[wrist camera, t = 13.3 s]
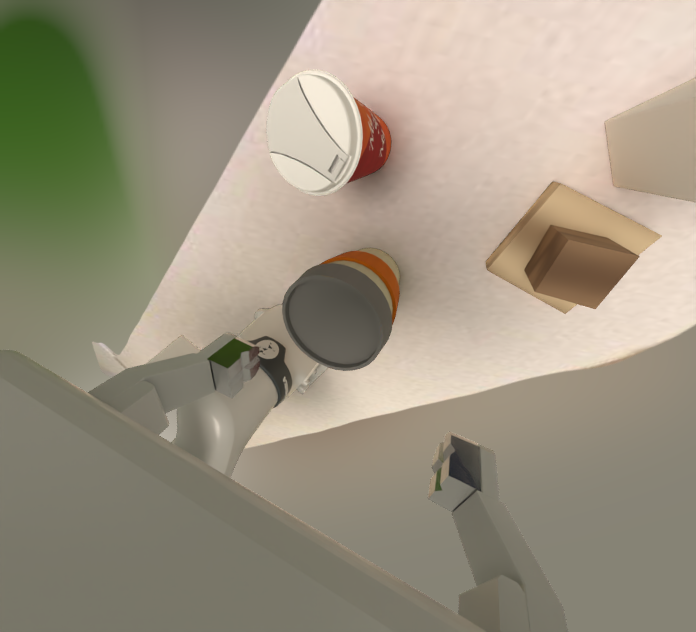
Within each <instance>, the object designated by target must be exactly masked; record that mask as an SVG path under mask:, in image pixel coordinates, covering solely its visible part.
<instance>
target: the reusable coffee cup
mask: <svg viewBox="0 0 696 632" xmlns="http://www.w3.org/2000/svg"><path fill="white" fill-rule="evenodd" d="M399 282H400V273H399V270H398V267H397V265H396V263H395V262H394V260H393V259H392V258H391V257H390V256H389V255H388V254H387V253H385V252H383V251H381V250H378V249H375V248H364V249H361V250H358V251H350V252H346V253H343V254H341V255H338V256H336V257H333V258H331V259H328V260H326V261H325V262H323V263H321V264H320V265H317V266H314V267H312V268H311V269H309V270H307V271H306V272H305V273H304V274H303V275H302V276H301V277H300V278H299V279H298V280H297V281H296V282H295V283H294V284H293V285H292V286H291V287H290V288H289V289H288V291H287V292H286V294H285V296H284V300H283V304H282V315H283V321H284V324H285V327H286V330H287V331H288V333H289V335H290V337H291V339H292V340H293V341H294V343H295V344H296V345H297V347H298V348H299V349H300V350H301V351H302V352H303V353H304V354H306V355H307V356H308V357H309V358H311V359H312V360H314V361H316V362H317V363H319V364H321V365H323V366H326V367H329V368H332V369H336V370H343V371H347V370H356V369H360V368H363V367H365V366H367V365H369V364H370V363H371V362H372V361H373V360H374V359H375V358H376V357H377V355H378V354H379V352H380V351H381V349H382V348H383V346H384V345H385V344H386V342H387V341H388V339H389V336H390V333H391V330H392V325H393V322H394V319H395V316H396V311H397V306H398V301H399V294H400V293H399Z"/></svg>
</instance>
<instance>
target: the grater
mask: <svg viewBox="0 0 696 632" xmlns="http://www.w3.org/2000/svg"><path fill="white" fill-rule="evenodd" d="M200 351H201V350H200V349H198V348H197V347H196V346H195V345H194V344H193V343H191V342H190V341H189V340H188V339H187V338H185V337H184V336H183V335H181V336H180V337H178V338H177V339H176V340H175V341H174V342H172V343H171V344H170V345H169V346H167V347H166V348H165V349H164V350H162V351H161V352H160V353H159V354H157V355H156V356H155V357H154V358H152V359H151V360H150V361H149V362H147V363H146V364H149V363H153V362H157V361H161V360H165V359H170V358H174V357H178V356H182V355H186V354H190V353H195V354H197V353H198V352H200Z"/></svg>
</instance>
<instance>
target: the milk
mask: <svg viewBox="0 0 696 632" xmlns="http://www.w3.org/2000/svg"><path fill="white" fill-rule="evenodd" d="M605 128H606V135H607V142H608V150H609V157H610V164H611V171H612V179H613V185H614V186H616V187H621V188H626V189H631V190H636V191H641V192H646V193H651V194H656V195H661V196H666V197H671V198H676V199H681V200H687V201H692V202H696V78H694V79H692V80H690V81H688V82H686V83H684V84H682V85H679V86H677V87H675V88H673V89H671V90H669V91H667V92H665V93H663V94H661V95H659V96H657V97H654V98H652V99H650V100H648V101H646V102H644V103H642V104H640V105H638V106H636V107H634V108H632V109H629V110H627V111H625V112H623V113H621V114H619V115H617V116H615V117H613V118H611V119H609V120H607V121H605Z"/></svg>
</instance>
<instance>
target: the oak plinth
mask: <svg viewBox="0 0 696 632" xmlns="http://www.w3.org/2000/svg"><path fill="white" fill-rule="evenodd" d="M550 225H554V226H558V227H563V228H567V229H571V230H576V231H580V232H585V233H589V234H594V235H598V236H603V237H607V238H609V239H611V240H612V241H614V242H616V243H618V244H619V245H621V246H623V247H624V248H626V249H628V250H630V251H631V252H633V253H635V254H636V255H639V254H640V253H642V252H643V251H644V250H645V249H647V248H648V247H649V246H650V245H652V244H653V243H654V242H655V241H656V240H658V239H659V238H660V237H661V235H659V234H657V233H656V232H654V231H652V230H650V229H648V228H646V227H644V226H642V225H640V224H638V223H636V222H634V221H632V220H630V219H628V218H626V217H625V216H623V215H621V214H619V213H617V212H615V211H613V210H611V209H609V208H607V207H605V206H603V205H601V204H599V203H597V202H596V201H594V200H592V199H590V198H588V197H586V196H584V195H582V194H580V193H578V192H576V191H574V190H572V189H570V188H568V187H566V186H565V185H563V184H560V183H557V182H552V183H551V184H550V185H549V186H548V188H547V189H546V190H545V191H544V192H543V194H542V195H541V196H540V197H539V198H538V200H537V201H536V202H535V203H534V204H533V206H532V207H531V208H530V209H529V210H528V212H527V213H526V214H525V215H524V216H523V218H522V219H521V220H520V221H519V222H518V224H517V225H516V226H515V227H514V228H513V230H512V231H511V232H510V233H509V234H508V236H507V237H506V238H505V239H504V240H503V242H502V243H501V244H500V245H499V246H498V248H497V249H496V250H495V251H494V252H493V254H492V255H491V256H490V257H489V258H488V260H487V261H486V267H487V270H488V271H490V272H491V273H493V274H495V275H497V276H499V277H500V278H502V279H504V280H506V281H507V282H509V283H511V284H513V285H515V286H516V287H518V288H520V289H522V290H524V291H525V292H527V293H529V294H531V295H532V296H534V297H536V298H538V299H540V300H541V301H543V302H545V303H547V304H548V305H550V306H552V307H554V308H556V309H557V310H559V311H561V312H563V313H564V314H566V313H567V312H568V311H569V310H571V309H572V308H573V307H574V306H576V305H577V304H575V303H572V302H568V301H565V300H561V299H558V298H554V297H551V296H547V295H544V294H540V293H537V292H534V290H533V287H532V285H531V283H530V281H529V279H528V277H527V275H526V273H525V271H524V269H525V267H526V266H527V264H528V262H529V261H530V259H531V257H532V255H533V254H534V252H535V250H536V249H537V247H538V245H539V244H540V242H541V240H542V238H543V237H544V235H545V233H546V232H547V230H548V228H549V226H550Z"/></svg>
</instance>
